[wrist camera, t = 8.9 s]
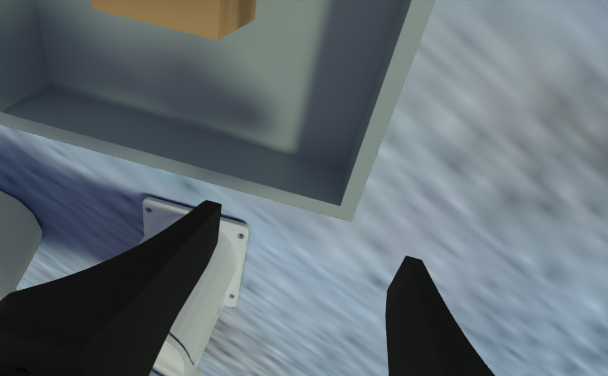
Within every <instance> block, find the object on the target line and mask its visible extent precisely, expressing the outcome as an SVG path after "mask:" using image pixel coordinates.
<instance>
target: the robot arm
mask: <svg viewBox="0 0 608 376" xmlns="http://www.w3.org/2000/svg"><path fill="white" fill-rule="evenodd" d="M142 206H143V223H144V237H143V239H142V240H141V241H140V242H139V244H138V245H137V246H135V247H134V248H132V249H130V250H128V251H126V252H124V253H122V254H120V255H118V256H116V257H114V258H111V259H109V260H107V261H105V262H102V263H100V264H98V265H95V266H93V267H90V268H88V269H85V270H83V271H80V272H77V273H74V274H72V275H69V276H66V277H63V278H60V279H57V280H54V281H50V282H47V283H44V284H40V285H37V286H33V287H29V288H26V289H22V290H19V291H15V292H11V293H9V294H8V295H6V296H5V297H4V298H3V299H2V300H0V376H201V374H202V373H201V371H199V370H198V369H197V368H196V367H197V365H198V363H199V361H200V359H201V356H202V354H203V352H204V349H205V347H206V345H207V342H208V340H209V338H210V335H211V333H212V331H213V328H214V326H215V324H216V322H217V319H218V317H219V315H220V312H221V310H222V308H223V305H225V306H228V307H235V306H236V304H237V301H238V295H239V289H240V283H241V277H242V271H243V265H244V259H245V253H246V247H247V241H248V236H249V227H248V225H246V224H245V223H241V222H238V221H234V220H231V219H227V218H224V217H221V207H222V204H219V203H216V202H212V201H208V200H205V201H203V202H202V203H201V204H199V205H198V206H197V207H195V208H194V209H191V208H188V207H184V206H181V205H177V204H173V203H170V202H166V201H163V200H159V199H156V198H152V197H146V198H145V199H144V200H143V202H142ZM149 208H150V209H151V210H150V209H149ZM239 233H240V234H243V235H240V234H239ZM385 317H386V336H387V352H388V368H389V376H495V375H494V374H493V373H492V371H491V370H490V369H489V368H488V366H487V365H486V364H485V363H484V361H483V360H482V359H481V357H480V356H479V355H478V353H477V352H476V350H475V349H474V348H473V346H472V345H471V344H470V342H469V341H468V339H467V338H466V336H465V335H464V333H463V332H462V330H461V329H460V327H459V326H458V324H457V323H456V321H455V319H454V318H453V316H452V314H451V313H450V311H449V309H448V308H447V306H446V304H445V302H444V301H443V299H442V297H441V295H440V293H439V292H438V290H437V288H436V286H435V284H434V282H433V280H432V278H431V277H430V275H429V273H428V271H427V269H426V267H425V265H424V263H423V261H422V260H420V259H417V258H413V257H409V256H405V258H404V260H403V262H402V264H401V266H400V268H399V269H398V271H397V273H396V275H395V277H394V279H393V281H392V282H391V284H390V286H389V288H388V290H387V299H386V315H385Z"/></svg>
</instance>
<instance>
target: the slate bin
mask: <svg viewBox="0 0 608 376" xmlns="http://www.w3.org/2000/svg"><path fill="white" fill-rule="evenodd" d="M434 3H435V0H257V2H256V11H255V20H253V21H251V22H250V23H248V24H246V25H244V26H242V27H241V28H239V29H237V30H235V31H234V32H232V33H230V34H228V35H226V36H225V37H223V38H221V39H219V40H214V39H210V38H206V37H202V36H198V35H194V34H190V33H186V32H182V31H178V30H174V29H170V28H166V27H163V26H159V25H155V24H151V23H147V22H143V21H139V20H135V19H131V18H127V17H123V16H119V15H115V14H111V13H107V12H103V11H99V10H95V9H92V4H91V0H0V125H3V126H7V127H10V128H14V129H18V130H21V131H25V132H28V133H32V134H36V135H39V136H43V137H46V138H50V139H54V140H57V141H61V142H64V143H68V144H72V145H75V146H79V147H82V148H86V149H90V150H93V151H97V152H100V153H104V154H108V155H111V156H115V157H118V158H122V159H126V160H129V161H133V162H136V163H140V164H144V165H147V166H151V167H154V168H158V169H162V170H165V171H169V172H172V173H176V174H180V175H183V176H187V177H190V178H194V179H198V180H201V181H205V182H208V183H212V184H216V185H219V186H223V187H226V188H230V189H234V190H237V191H241V192H245V193H248V194H252V195H255V196H259V197H263V198H266V199H270V200H273V201H277V202H281V203H284V204H288V205H291V206H295V207H299V208H302V209H306V210H309V211H313V212H317V213H320V214H324V215H327V216H331V217H335V218H338V219H342V220H345V221H349V222H351V220H352V218H353V215H354V213H355V210H356V207H357V205H358V202H359V199H360V197H361V194H362V192H363V189H364V186H365V184H366V181H367V179H368V176H369V173H370V171H371V168H372V165H373V163H374V160H375V158H376V155H377V152H378V150H379V147H380V144H381V142H382V139H383V137H384V134H385V131H386V129H387V126H388V123H389V121H390V118H391V116H392V113H393V110H394V108H395V105H396V103H397V100H398V97H399V95H400V92H401V89H402V87H403V84H404V82H405V79H406V76H407V74H408V71H409V68H410V66H411V63H412V61H413V58H414V55H415V53H416V50H417V48H418V45H419V42H420V40H421V37H422V34H423V32H424V29H425V27H426V24H427V21H428V19H429V16H430V13H431V11H432V8H433V6H434Z"/></svg>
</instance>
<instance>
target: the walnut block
mask: <svg viewBox="0 0 608 376" xmlns="http://www.w3.org/2000/svg"><path fill="white" fill-rule="evenodd" d="M256 2H257V0H91V4H92V9H95V10H99V11H103V12H107V13H111V14H115V15H119V16H123V17H127V18H131V19H135V20H139V21H143V22H147V23H151V24H155V25H159V26H163V27H166V28H170V29H174V30H178V31H182V32H186V33H190V34H194V35H198V36H202V37H206V38H210V39H214V40H219V39H221V38H223V37H225V36H226V35H228V34H230V33H232V32H234V31H235V30H237V29H239V28H241V27H242V26H244V25H246V24H248V23H250V22H251V21H253V20H255V11H256Z"/></svg>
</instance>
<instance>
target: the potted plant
mask: <svg viewBox="0 0 608 376" xmlns="http://www.w3.org/2000/svg"><path fill="white" fill-rule="evenodd" d="M41 237H42V230H41V228H40V226H39V224H38V222H37V220H36V218H35V216H34V215H33V213H32V212H31V211H30V210H29V209H28V208H27V207H25V206H24V205H23V204H22V203H21V202H20V201H19V200H17V199H15V198H13V197H11V196H9V195H7V194H5V193H3V192H1V191H0V300H2V299H3V298H4V297H5V296H6V295H8V294H9V293H11V292H15V291H17V290H16V287H17V286H18V284H19V282H20V280H21V278H22V277H23V275H24V273H25V271H26V269H27V267H28V266H29V264H30V262H31V260H32V258H33V256H34V255H35V253H36V251H37V249H38V247H39V245H40V244H41Z"/></svg>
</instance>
